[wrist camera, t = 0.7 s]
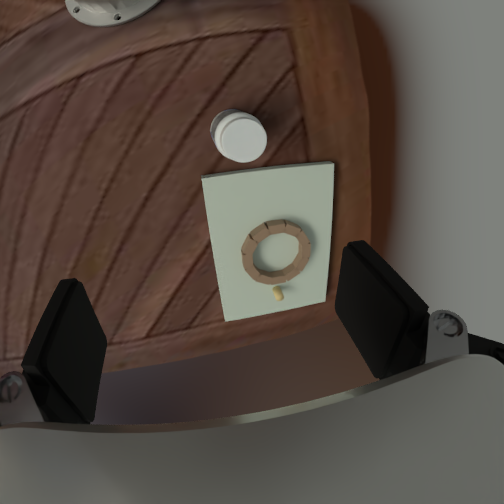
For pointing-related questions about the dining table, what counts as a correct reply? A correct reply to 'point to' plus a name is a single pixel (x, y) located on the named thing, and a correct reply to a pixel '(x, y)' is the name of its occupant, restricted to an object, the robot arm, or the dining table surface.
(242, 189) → the socket board
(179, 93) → the dining table surface
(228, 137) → the pill bottle
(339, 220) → the dining table surface
